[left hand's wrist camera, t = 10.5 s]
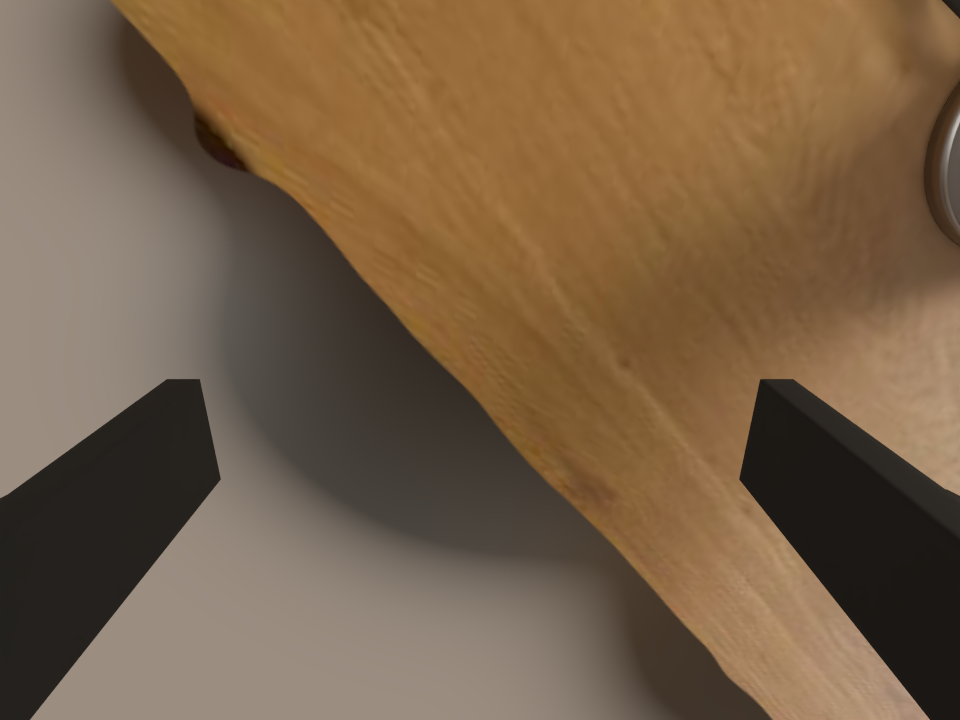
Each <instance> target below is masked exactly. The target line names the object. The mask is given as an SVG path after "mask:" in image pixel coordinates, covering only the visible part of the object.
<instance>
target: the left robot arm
mask: <svg viewBox="0 0 960 720" xmlns="http://www.w3.org/2000/svg"><path fill="white" fill-rule="evenodd" d="M942 1H943V2H944V3H945V4H946V5H947V6H948V7H949V8H950V9H951V10H952V11H953V12H954V13H955V14H956V15H957V16H958V17H959V18H960V0H942ZM925 191H926V196H927V201H928V204H929V207H930V210H931V213H932V215H933V217H934V219H935V221H936V222H937V224H938V225H939V227H940V228H941V229H942V230H943V232H944V233H945V234H946V235H947V236H948V237H949V238H950V239H952V240H953V241H954V242H956V243H957V244H959V245H960V82H959V83H958V84H957V86H956V87H955V89H954V90H953V92H952V93H951V95H950V96H949V98H948V100H947V102H946V103H945V105H944V107H943V109H942V111H941V113H940V115H939V117H938V119H937V122H936V124H935V127H934V129H933V132H932V135H931V138H930V142H929V145H928V150H927V155H926V162H925ZM220 479H221V478H220V474H219V469H218V464H217V459H216V455H215V450H214V445H213V440H212V436H211V431H210V426H209V421H208V416H207V412H206V407H205V402H204V398H203V393H202V388H201V383H200V379H167V380H165V381H164V382H163V383H161V384H160V385H158V386H157V387H156V388H154V389H153V390H152V391H150V392H149V393H147V394H146V395H145V396H143V397H142V398H141V399H139V400H138V401H136V402H135V403H134V404H132V405H131V406H129V407H128V408H127V409H125V410H124V411H123V412H121V413H120V414H118V415H117V416H116V417H114V418H113V419H111V420H110V421H109V422H107V423H106V424H105V425H103V426H102V427H101V428H99V429H98V430H96V431H95V432H94V433H92V434H91V435H89V436H88V437H87V438H85V439H84V440H82V441H81V442H80V443H78V444H77V445H76V446H74V447H73V448H71V449H70V450H69V451H67V452H66V453H65V454H63V455H62V456H60V457H59V458H58V459H56V460H55V461H54V462H52V463H51V464H49V465H48V466H47V467H45V468H44V469H42V470H41V471H40V472H38V473H37V474H36V475H34V476H33V477H31V478H30V479H29V480H27V481H26V482H25V483H23V484H22V485H20V486H19V487H18V488H16V489H15V490H13V491H12V492H11V493H9V494H8V495H6V496H4V497H2V498H0V720H30V719H31V718H32V716H33V715H34V714H35V713H36V711H37V710H38V709H39V707H40V706H41V705H42V704H43V703H44V701H45V700H46V699H47V697H48V696H49V695H50V694H51V692H52V691H53V690H54V689H55V687H56V686H57V685H58V684H59V682H60V681H61V680H62V679H63V677H64V676H65V675H66V674H67V672H68V671H69V670H70V669H71V667H72V666H73V665H74V663H75V662H76V661H77V660H78V658H79V657H80V656H81V655H82V653H83V652H84V651H85V650H86V648H87V647H88V646H89V645H90V643H91V642H92V641H93V639H94V638H95V637H96V636H97V634H98V633H99V632H100V631H101V629H102V628H103V627H104V626H105V624H106V623H107V622H108V621H109V619H110V618H111V617H112V616H113V614H114V613H115V612H116V611H117V609H118V608H119V607H120V605H121V604H122V603H123V602H124V600H125V599H126V598H127V597H128V595H129V594H130V593H131V592H132V590H133V589H134V588H135V587H136V585H137V584H138V583H139V582H140V580H141V579H142V578H143V577H144V575H145V574H146V573H147V572H148V570H149V569H150V568H151V566H152V565H153V564H154V563H155V561H156V560H157V559H158V558H159V556H160V555H161V554H162V553H163V551H164V550H165V549H166V548H167V546H168V545H169V544H170V542H171V541H172V540H173V539H174V537H175V536H176V535H177V534H178V532H179V531H180V530H181V529H182V527H183V526H184V525H185V524H186V522H187V521H188V520H189V519H190V517H191V516H192V515H193V514H194V512H195V511H196V510H197V509H198V507H199V506H200V505H201V503H202V502H203V501H204V500H205V498H206V497H207V496H208V495H209V493H210V492H211V491H212V490H213V488H214V487H215V486H216V485H217V483H218V482H219V481H220ZM739 480H740V481H741V482H742V483H743V485H744V486H745V487H746V488H747V490H748V491H749V492H750V493H751V495H752V496H753V497H754V498H755V500H756V501H757V502H758V503H759V505H760V506H761V507H762V509H763V510H764V511H765V512H766V514H767V515H768V516H769V517H770V519H771V520H772V521H773V522H774V524H775V525H776V526H777V527H778V529H779V530H780V531H781V532H782V534H783V535H784V536H785V537H786V539H787V540H788V541H789V543H790V544H791V545H792V546H793V548H794V549H795V550H796V551H797V553H798V554H799V555H800V556H801V558H802V559H803V560H804V561H805V563H806V564H807V565H808V566H809V568H810V569H811V570H812V572H813V573H814V574H815V575H816V577H817V578H818V579H819V580H820V582H821V583H822V584H823V585H824V587H825V588H826V589H827V590H828V592H829V593H830V594H831V595H832V597H833V598H834V599H835V600H836V602H837V603H838V604H839V606H840V607H841V608H842V609H843V611H844V612H845V613H846V614H847V616H848V617H849V618H850V619H851V621H852V622H853V623H854V624H855V626H856V627H857V628H858V629H859V631H860V632H861V633H862V635H863V636H864V637H865V638H866V640H867V641H868V642H869V643H870V645H871V646H872V647H873V648H874V650H875V651H876V652H877V653H878V655H879V656H880V657H881V658H882V660H883V661H884V662H885V663H886V665H887V666H888V667H889V669H890V670H891V671H892V672H893V674H894V675H895V676H896V677H897V679H898V680H899V681H900V682H901V684H902V685H903V686H904V687H905V689H906V690H907V691H908V692H909V694H910V695H911V696H912V697H913V699H914V700H915V701H916V703H917V704H918V705H919V706H920V708H921V709H922V710H923V711H924V713H925V714H926V715H927V716H928V718H929V719H930V720H960V496H959V495H957V494H955V493H953V492H951V491H949V490H945V489H944V488H942V487H941V486H940V485H938V484H937V483H936V482H934V481H933V480H931V479H930V478H929V477H927V476H926V475H924V474H923V473H922V472H920V471H919V470H918V469H916V468H915V467H913V466H912V465H911V464H909V463H908V462H907V461H905V460H904V459H902V458H901V457H900V456H898V455H897V454H895V453H894V452H893V451H891V450H890V449H889V448H887V447H886V446H884V445H883V444H882V443H880V442H879V441H878V440H876V439H875V438H873V437H872V436H871V435H869V434H868V433H866V432H865V431H864V430H862V429H861V428H860V427H858V426H857V425H855V424H854V423H853V422H851V421H850V420H849V419H847V418H846V417H844V416H843V415H842V414H840V413H839V412H837V411H836V410H835V409H833V408H832V407H831V406H829V405H828V404H826V403H825V402H824V401H822V400H821V399H820V398H818V397H817V396H815V395H814V394H813V393H811V392H810V391H808V390H807V389H806V388H804V387H803V386H802V385H800V384H799V383H797V382H796V381H795V380H793V379H760V383H759V388H758V393H757V397H756V402H755V407H754V412H753V416H752V421H751V426H750V431H749V435H748V440H747V445H746V450H745V454H744V459H743V464H742V469H741V474H740V478H739Z"/></svg>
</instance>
